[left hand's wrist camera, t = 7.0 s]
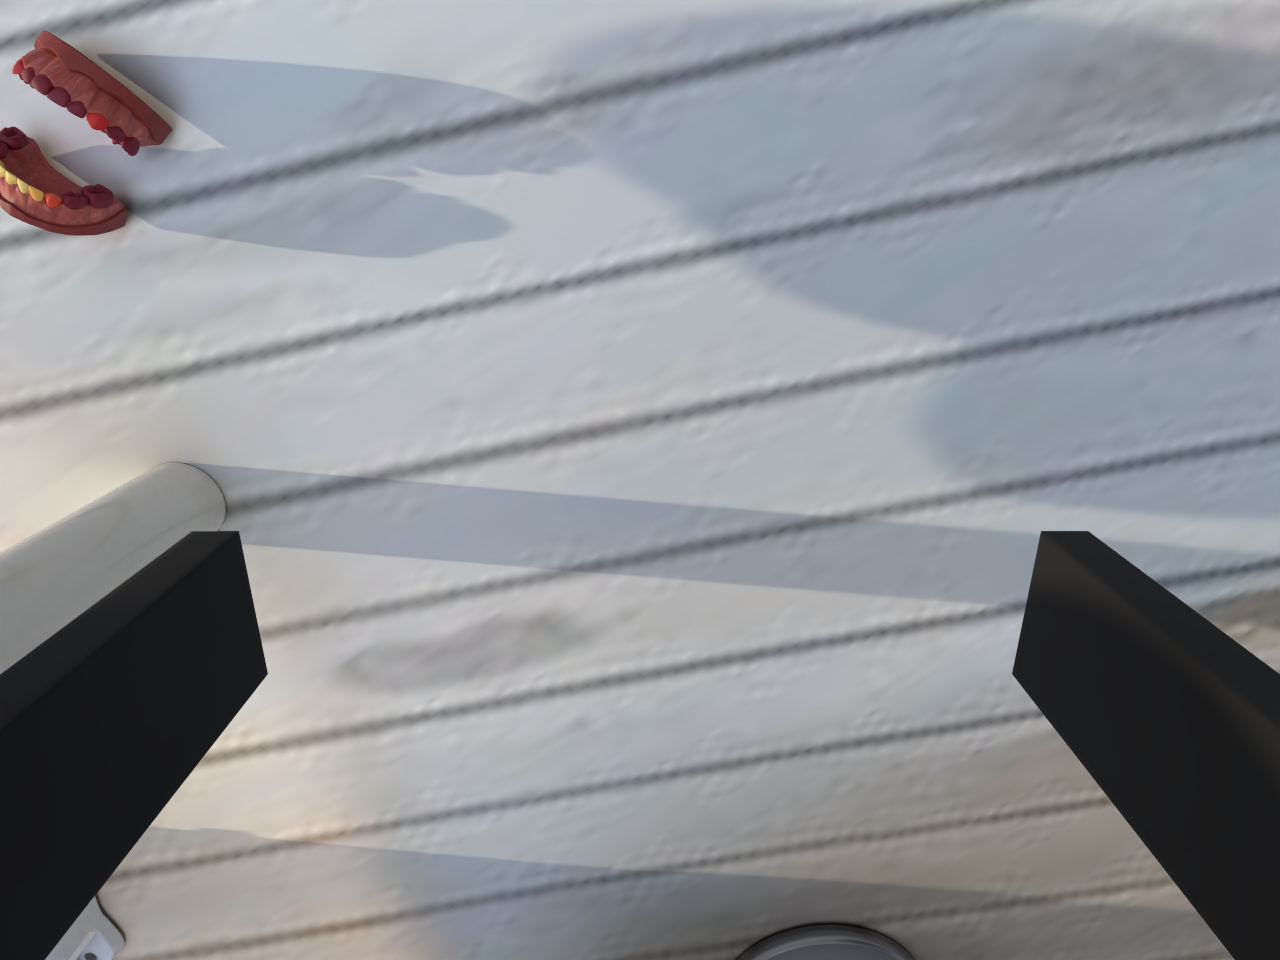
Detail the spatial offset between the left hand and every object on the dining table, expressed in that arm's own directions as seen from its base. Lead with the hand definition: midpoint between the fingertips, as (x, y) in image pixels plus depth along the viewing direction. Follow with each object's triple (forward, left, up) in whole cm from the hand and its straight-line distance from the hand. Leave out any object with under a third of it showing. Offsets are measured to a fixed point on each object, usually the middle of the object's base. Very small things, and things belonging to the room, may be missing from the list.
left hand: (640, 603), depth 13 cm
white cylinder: (-10, +26, -28) cm, 39 cm away
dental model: (+9, +26, -28) cm, 39 cm away
